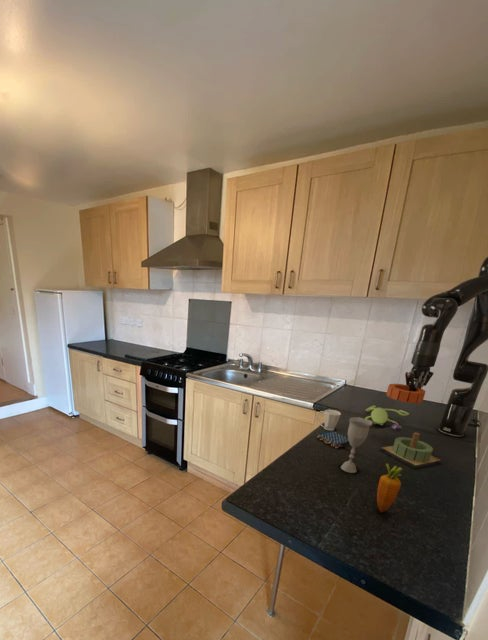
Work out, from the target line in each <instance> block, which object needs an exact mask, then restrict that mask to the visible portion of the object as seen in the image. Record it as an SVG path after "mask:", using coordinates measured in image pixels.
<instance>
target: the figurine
mask: <svg viewBox="0 0 488 640" xmlns="http://www.w3.org/2000/svg"><path fill="white" fill-rule="evenodd" d="M370 411H371V413H370V415H367V416H365V418H364V419H366V420H369V421H371V422H372V425H379V426H381V427H382V426H384V424H385V423H386V422H388V423H392V425H391V426H390V428H392V429H393V430H402V425H401V424H400V423H398V422H397V421H396V420H392V419H389V414H388V412H393V413H396V414H398V415H399V416H400V417H408V416H409V415H410V413H409V412H407V411H405V410H402V409H399V410H398V409H395V408H394V409H393V408H382V407H377V405H371V406H369V407H367V408H366V409H365V412H367V413H368V412H370ZM357 418H361V416H358V417H357Z"/></svg>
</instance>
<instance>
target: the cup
mask: <svg viewBox="0 0 488 640" xmlns="http://www.w3.org/2000/svg"><path fill="white" fill-rule="evenodd" d="M320 413H322V414H323V415H324V416H323V417H324V419H323V422H324V423H323V424H324V425H323V424H322V423H321V422H320V420H319V417H318V416H319V414H320ZM341 415H342V414H341V412H340V411H339V410H335V409H329V408H328V409H324V410H320V411H319V412H317V414H316V416H315V419H316V421H317V423H318V424H319V425H320V426H321V427H322V428H323V429H324V430H326V431H328V432H331V431H333V432H335V429H336V427H337V425H338V423H339V420H340V418H341Z"/></svg>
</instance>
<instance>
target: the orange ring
mask: <svg viewBox="0 0 488 640" xmlns="http://www.w3.org/2000/svg"><path fill="white" fill-rule="evenodd" d="M409 388H410V387H409V386H408V385H406V384H404V383H390V384H388V387H387V390H386V394H385V395H386V397H388V398H390V399H392V400H395V401H398V402H402V403H409V404H422V403H423V401H424V399H425V396H426V395H425V394H426V392H427V391H426V390H425V389H423V388H421V389H420V388H418V387H417V388H416V392H414V391H409Z"/></svg>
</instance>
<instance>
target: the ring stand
mask: <svg viewBox="0 0 488 640" xmlns="http://www.w3.org/2000/svg"><path fill="white" fill-rule="evenodd" d="M420 435H421V433H419V432H415V431H414V432H413V433H412V437H411V438H412V440H411V443H410V446H409V447H411V448H416V445H417V442H418V440H419V439H420ZM381 449H383V450H385V451H386V452H389V453H390V454H392V455H395V456H397V457H398V458H400V459H402V460H404V461H406V462H408V463H410V464H411V465H414V466H419V465H425V464H429V463H434V462H439V461H441V459H440V458H438V457H436V456H433V455H432V454H431V457H430V460H429V461H425V462H420V461H415V460H410V459H406V458H405V457H401V456H399V455H398V454H397V453H395V452H394V451H393V450H392V449H393V445H389V446H382V447H381Z"/></svg>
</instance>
